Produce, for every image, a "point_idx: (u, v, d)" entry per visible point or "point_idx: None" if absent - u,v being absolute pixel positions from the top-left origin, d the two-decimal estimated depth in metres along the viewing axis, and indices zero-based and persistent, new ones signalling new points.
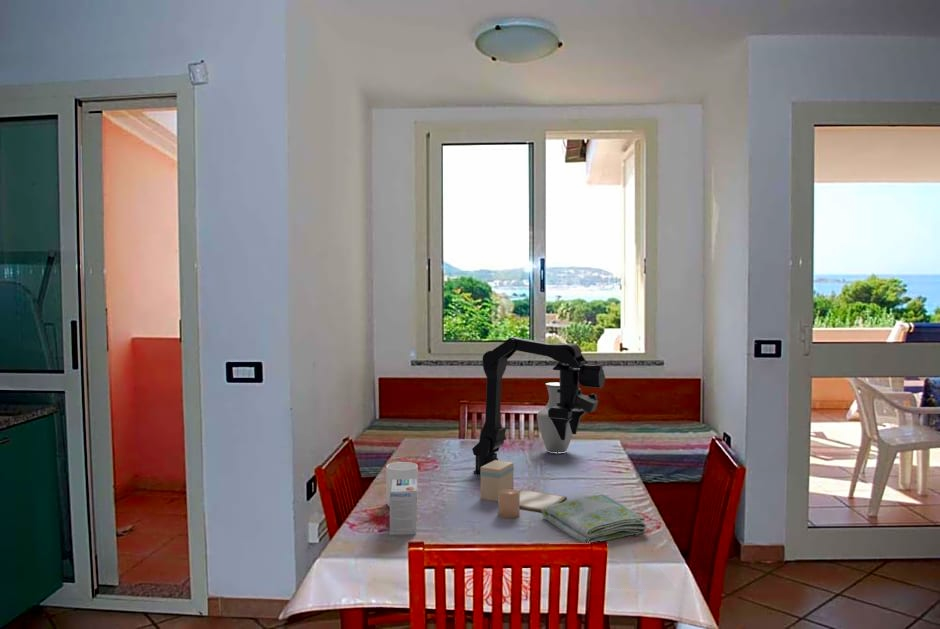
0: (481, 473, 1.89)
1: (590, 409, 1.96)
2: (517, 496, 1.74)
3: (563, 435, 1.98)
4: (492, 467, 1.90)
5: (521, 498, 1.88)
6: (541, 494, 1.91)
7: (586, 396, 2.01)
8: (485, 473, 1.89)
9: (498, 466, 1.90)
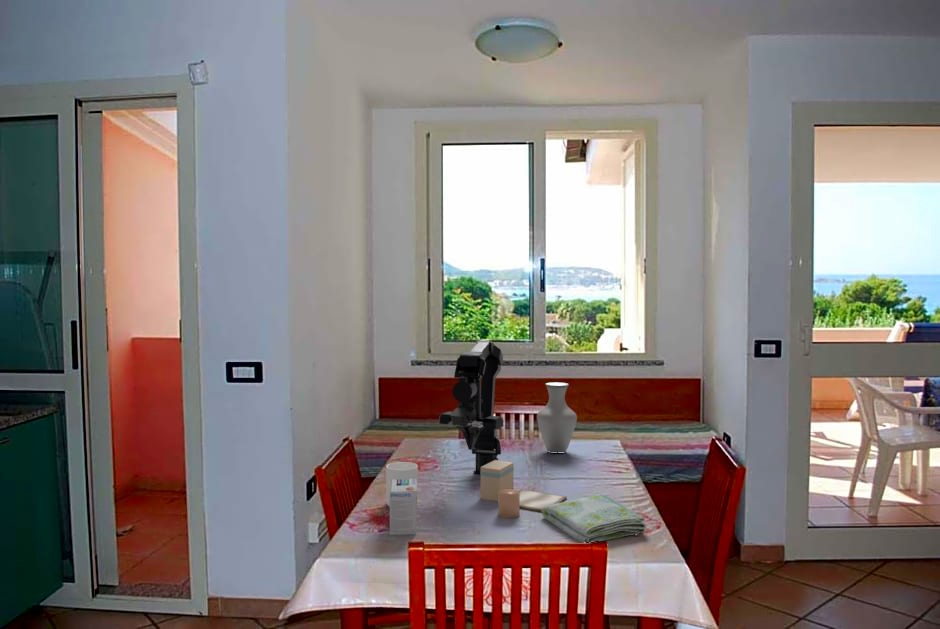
0: (481, 473, 1.89)
1: None
2: (517, 496, 1.74)
3: None
4: (492, 467, 1.90)
5: (521, 498, 1.88)
6: (541, 494, 1.91)
7: (467, 410, 1.91)
8: (485, 473, 1.89)
9: (498, 466, 1.90)
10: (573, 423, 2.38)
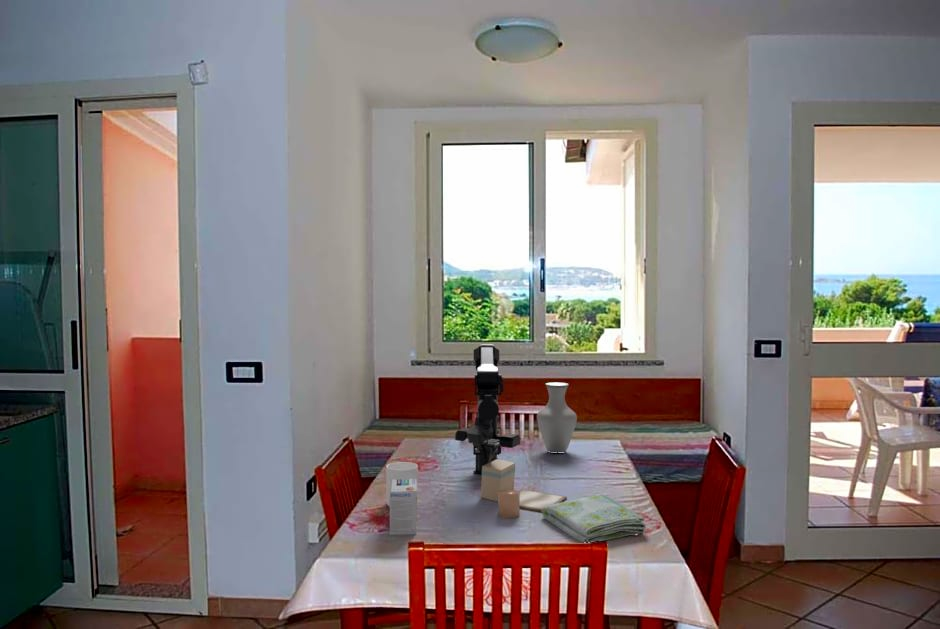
0: (482, 472, 1.89)
1: (468, 438, 1.88)
2: (517, 496, 1.74)
3: None
4: (493, 466, 1.90)
5: (521, 498, 1.88)
6: (541, 494, 1.91)
7: (484, 427, 1.88)
8: (486, 472, 1.89)
9: (500, 466, 1.90)
10: (573, 423, 2.38)
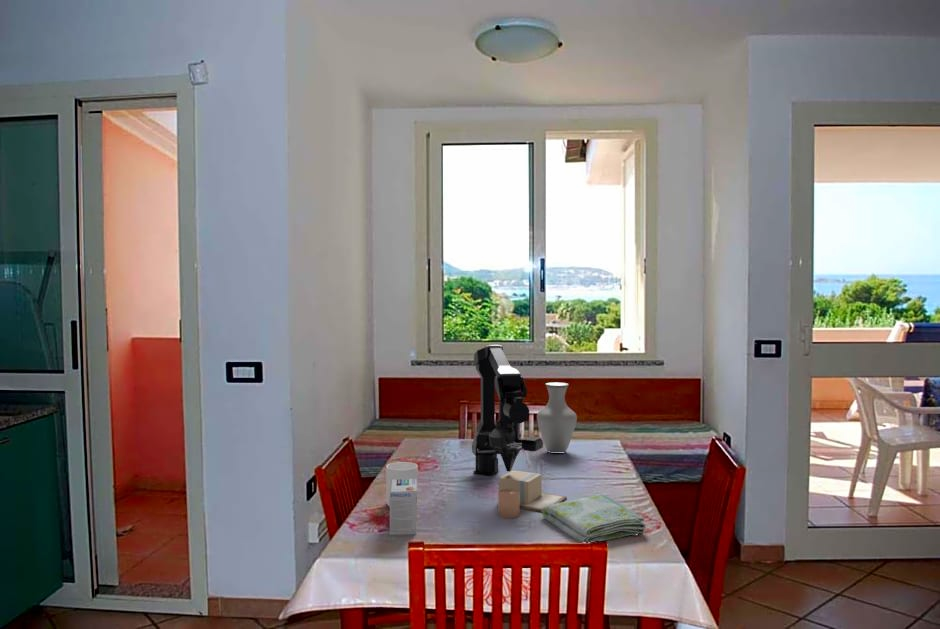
0: (522, 482, 1.83)
1: (490, 442, 1.84)
2: (517, 496, 1.74)
3: None
4: (530, 490, 1.84)
5: None
6: None
7: (506, 431, 1.85)
8: (523, 486, 1.83)
9: (532, 494, 1.85)
10: (573, 423, 2.38)
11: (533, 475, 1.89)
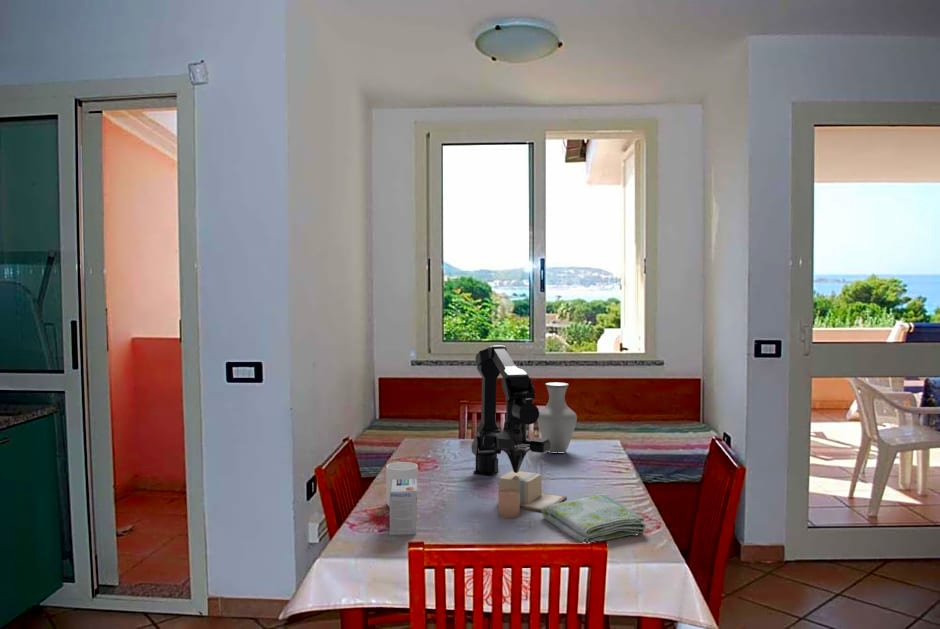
0: (522, 482, 1.83)
1: (497, 444, 1.83)
2: (517, 496, 1.74)
3: None
4: (530, 490, 1.84)
5: None
6: None
7: (513, 432, 1.84)
8: (523, 486, 1.83)
9: (532, 494, 1.85)
10: (573, 423, 2.38)
11: (533, 475, 1.89)
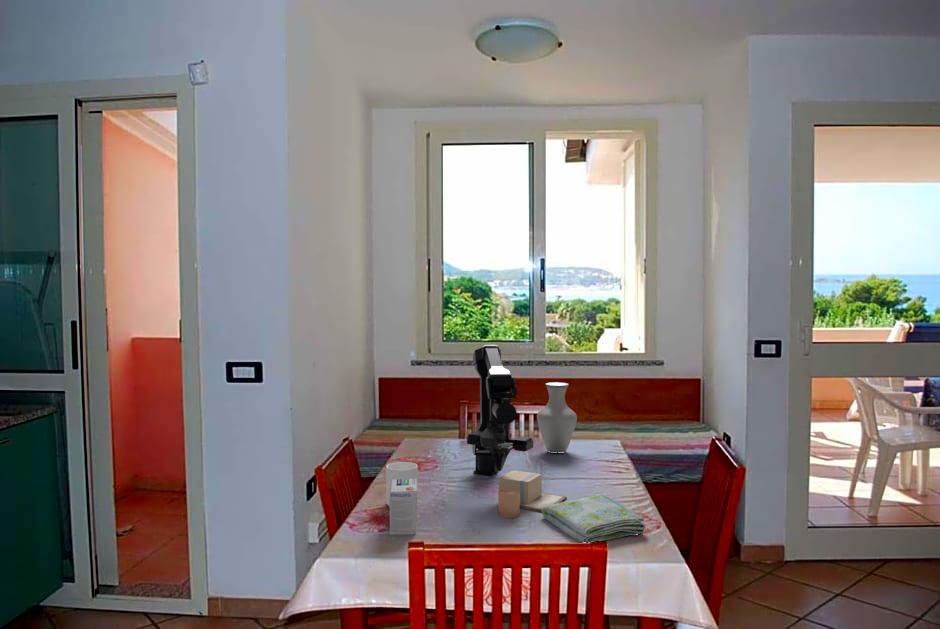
0: (522, 482, 1.83)
1: (481, 442, 1.86)
2: (517, 496, 1.74)
3: None
4: (530, 490, 1.84)
5: None
6: None
7: (497, 431, 1.86)
8: (523, 486, 1.83)
9: (532, 494, 1.85)
10: (573, 423, 2.38)
11: (533, 475, 1.89)
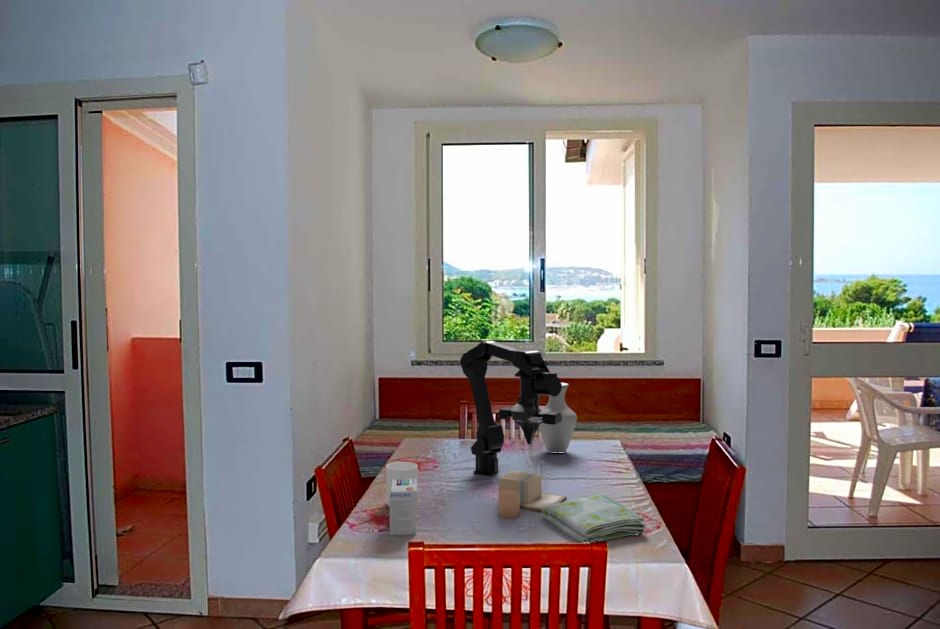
0: (522, 482, 1.83)
1: (512, 416, 1.96)
2: (517, 496, 1.74)
3: None
4: (530, 490, 1.84)
5: None
6: None
7: (527, 405, 1.97)
8: (523, 486, 1.83)
9: (532, 494, 1.85)
10: (573, 423, 2.38)
11: (533, 475, 1.89)
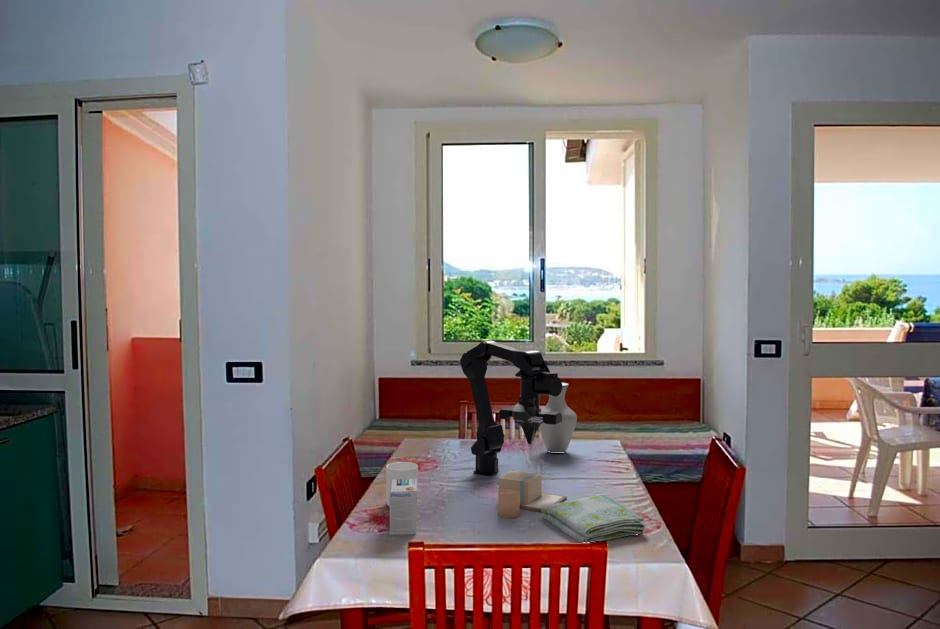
0: (522, 482, 1.83)
1: (512, 416, 1.96)
2: (517, 496, 1.74)
3: None
4: (530, 490, 1.84)
5: None
6: None
7: (528, 405, 1.97)
8: (523, 486, 1.83)
9: (532, 494, 1.85)
10: (573, 423, 2.38)
11: (533, 475, 1.89)
